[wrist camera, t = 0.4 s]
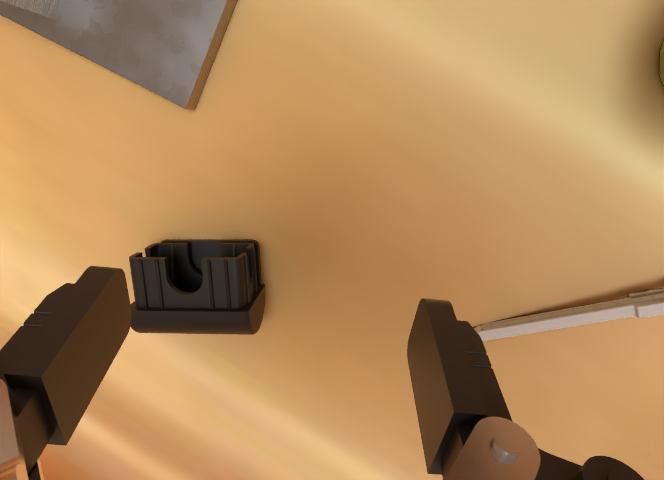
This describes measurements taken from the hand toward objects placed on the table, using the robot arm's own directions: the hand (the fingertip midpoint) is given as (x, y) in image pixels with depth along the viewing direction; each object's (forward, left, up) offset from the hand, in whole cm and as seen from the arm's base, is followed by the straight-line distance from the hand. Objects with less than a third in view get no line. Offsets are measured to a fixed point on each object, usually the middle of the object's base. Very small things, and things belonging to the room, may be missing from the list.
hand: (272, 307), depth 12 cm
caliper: (0, +24, -27) cm, 36 cm away
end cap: (+13, -6, -27) cm, 30 cm away
